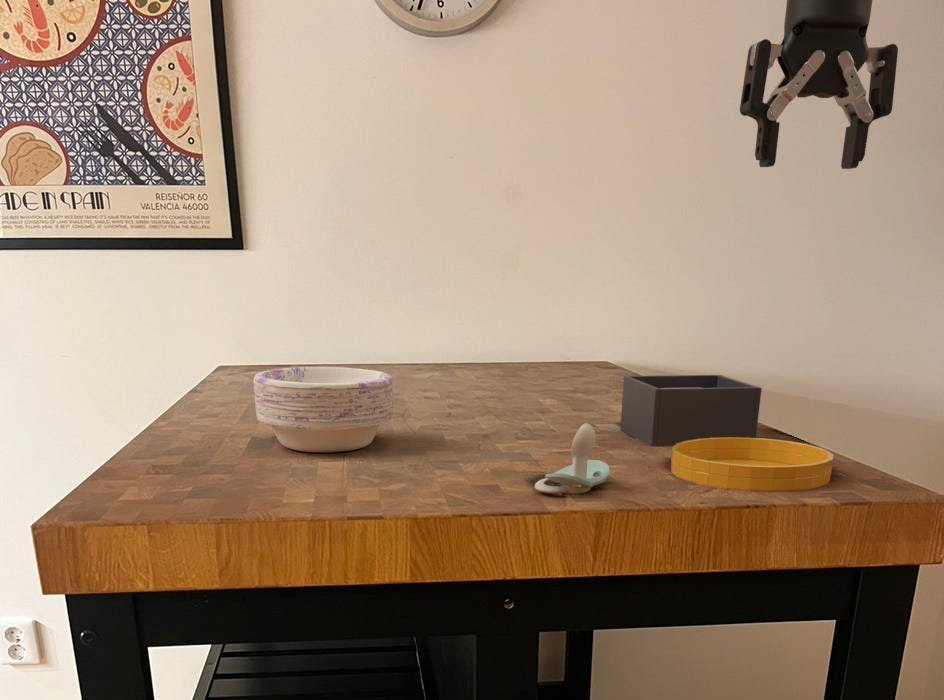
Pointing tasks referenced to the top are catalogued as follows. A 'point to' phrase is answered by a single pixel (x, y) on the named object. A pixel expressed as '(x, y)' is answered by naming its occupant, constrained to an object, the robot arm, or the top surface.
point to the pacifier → (577, 467)
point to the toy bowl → (751, 464)
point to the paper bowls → (323, 406)
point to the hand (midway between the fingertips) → (808, 167)
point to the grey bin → (688, 408)
